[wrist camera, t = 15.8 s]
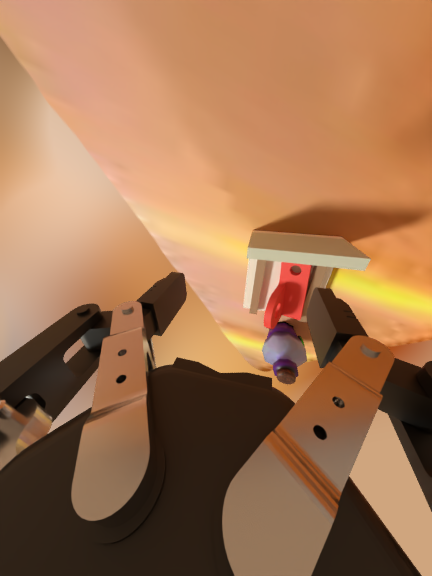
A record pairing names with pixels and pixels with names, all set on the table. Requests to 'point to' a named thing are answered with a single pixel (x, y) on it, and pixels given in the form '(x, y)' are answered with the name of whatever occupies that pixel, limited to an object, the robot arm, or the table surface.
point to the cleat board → (295, 249)
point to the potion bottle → (284, 352)
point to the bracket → (288, 294)
